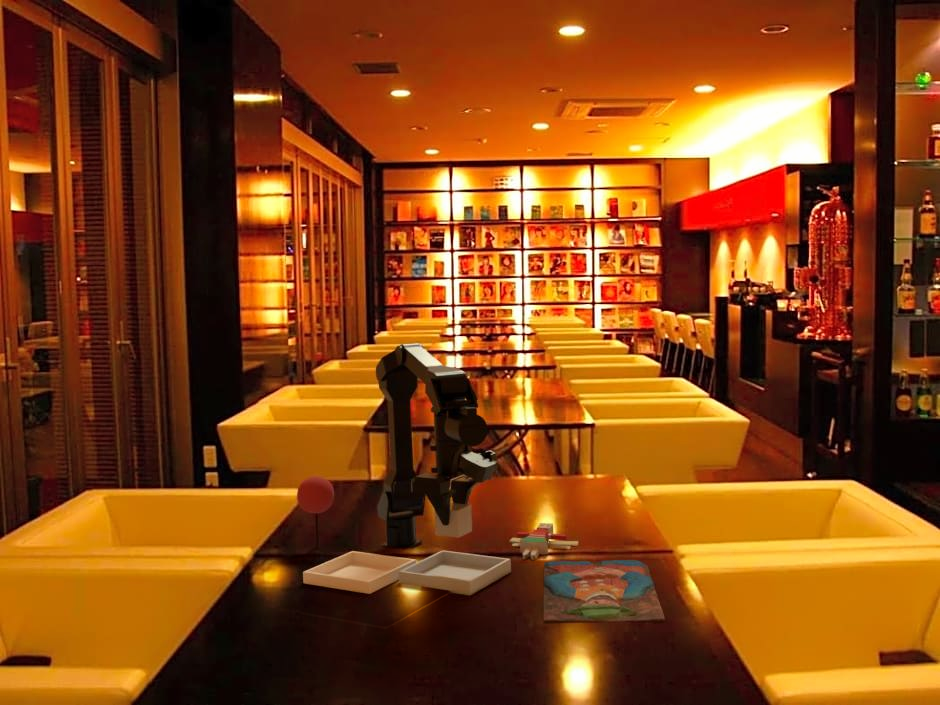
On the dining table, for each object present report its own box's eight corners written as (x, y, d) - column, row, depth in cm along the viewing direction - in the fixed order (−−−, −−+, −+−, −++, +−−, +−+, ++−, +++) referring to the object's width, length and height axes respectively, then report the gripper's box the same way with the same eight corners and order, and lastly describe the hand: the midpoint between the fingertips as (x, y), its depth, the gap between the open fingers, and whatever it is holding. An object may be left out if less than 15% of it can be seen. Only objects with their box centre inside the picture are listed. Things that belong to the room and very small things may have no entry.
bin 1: (353, 563, 203) (352, 551, 202) (416, 572, 195) (416, 559, 195) (303, 585, 190) (302, 571, 189) (369, 595, 182) (369, 582, 182)
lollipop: (329, 552, 211) (325, 480, 210) (294, 551, 213) (290, 480, 212) (341, 542, 219) (338, 473, 218) (307, 541, 220) (304, 473, 219)
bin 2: (442, 562, 201) (442, 550, 200) (510, 571, 193) (510, 559, 193) (399, 584, 188) (398, 571, 187) (470, 595, 180) (469, 581, 180)
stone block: (449, 528, 193) (448, 502, 193) (472, 531, 190) (471, 504, 190) (435, 534, 189) (434, 508, 188) (458, 537, 186) (457, 510, 186)
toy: (491, 547, 203) (513, 519, 216) (493, 565, 203) (514, 536, 217) (563, 551, 198) (580, 522, 211) (564, 570, 199) (581, 539, 212)
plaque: (647, 559, 193) (665, 613, 163) (648, 570, 193) (665, 625, 163) (543, 560, 195) (542, 614, 165) (544, 571, 195) (543, 627, 165)
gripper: (461, 450, 176) (464, 538, 177) (512, 433, 192) (515, 514, 193) (407, 446, 182) (411, 532, 183) (461, 430, 198) (464, 509, 199)
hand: (453, 521), depth 189 cm, fingers closed on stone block, 5 cm apart
